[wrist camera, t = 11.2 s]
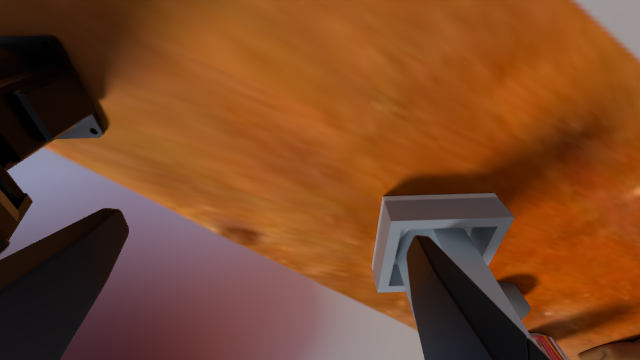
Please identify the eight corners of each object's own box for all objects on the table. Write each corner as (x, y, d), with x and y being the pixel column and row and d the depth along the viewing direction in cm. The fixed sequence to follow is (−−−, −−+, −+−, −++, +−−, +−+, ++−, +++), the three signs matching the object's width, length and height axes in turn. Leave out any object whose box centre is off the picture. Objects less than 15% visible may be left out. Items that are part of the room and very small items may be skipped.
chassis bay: (371, 266, 31) (377, 292, 28) (382, 196, 25) (391, 221, 22) (461, 263, 31) (475, 288, 28) (494, 192, 25) (514, 217, 22)
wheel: (462, 309, 37) (471, 330, 35) (476, 283, 33) (488, 304, 31) (506, 307, 37) (519, 328, 35) (526, 281, 33) (541, 302, 31)
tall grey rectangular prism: (392, 246, 28) (448, 427, 17) (425, 213, 25) (517, 400, 14) (430, 260, 29) (505, 434, 18) (465, 230, 27) (577, 411, 16)
